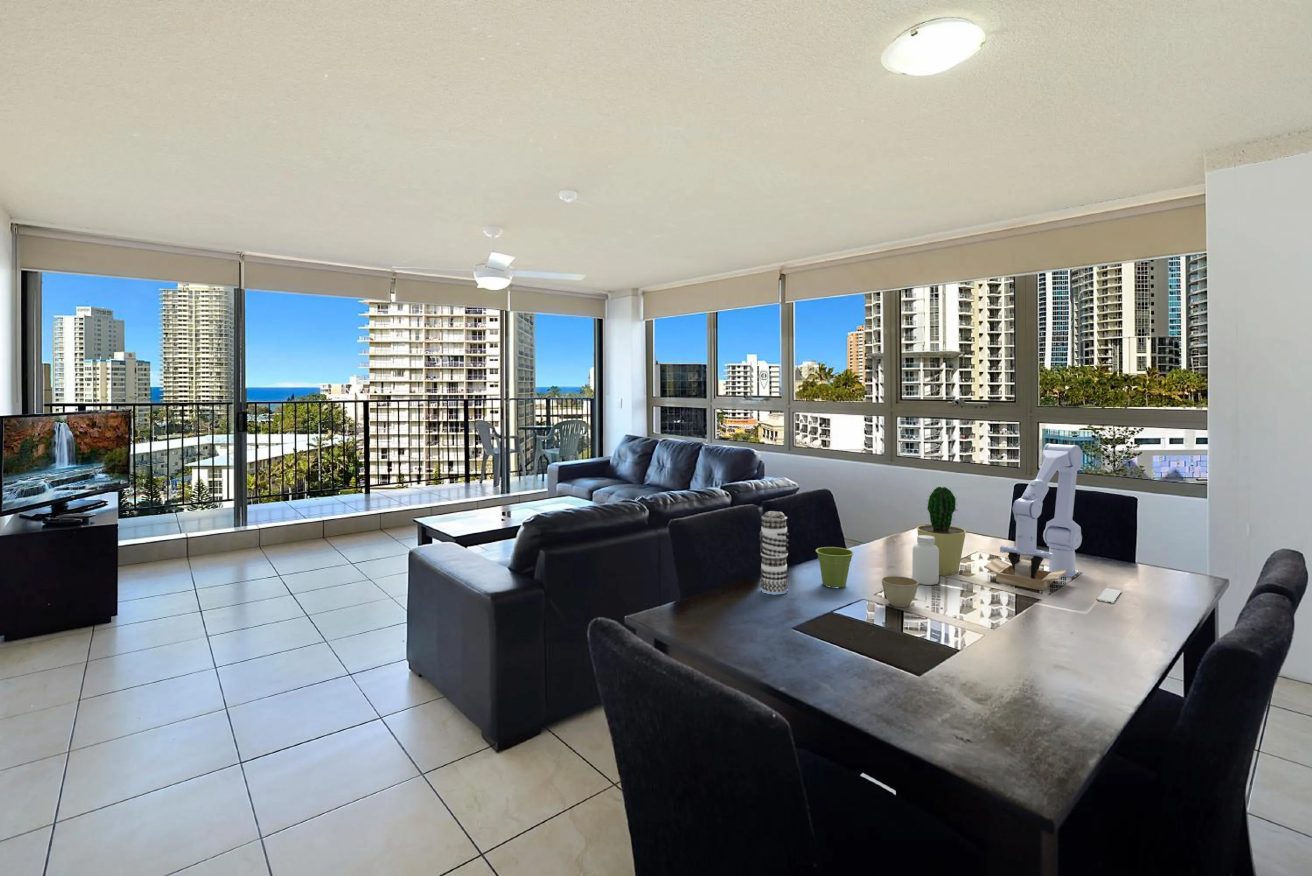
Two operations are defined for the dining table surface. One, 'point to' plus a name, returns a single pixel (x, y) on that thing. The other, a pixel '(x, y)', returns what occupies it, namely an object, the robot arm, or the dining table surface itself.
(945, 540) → the potted cactus
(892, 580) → the flower pot
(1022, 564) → the block
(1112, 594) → the grey mat
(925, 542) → the pill bottle
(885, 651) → the dining table surface
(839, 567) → the plant pot
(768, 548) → the decorative candle
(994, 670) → the dining table surface
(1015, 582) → the carton
